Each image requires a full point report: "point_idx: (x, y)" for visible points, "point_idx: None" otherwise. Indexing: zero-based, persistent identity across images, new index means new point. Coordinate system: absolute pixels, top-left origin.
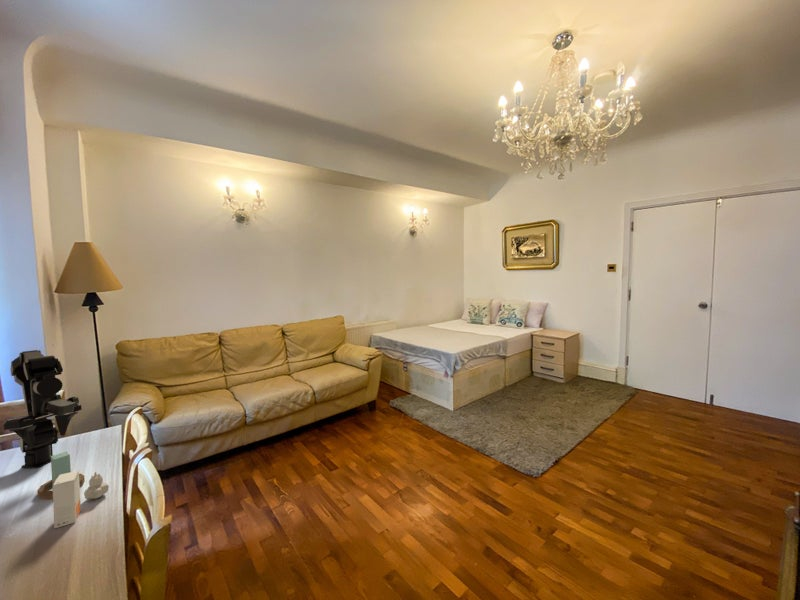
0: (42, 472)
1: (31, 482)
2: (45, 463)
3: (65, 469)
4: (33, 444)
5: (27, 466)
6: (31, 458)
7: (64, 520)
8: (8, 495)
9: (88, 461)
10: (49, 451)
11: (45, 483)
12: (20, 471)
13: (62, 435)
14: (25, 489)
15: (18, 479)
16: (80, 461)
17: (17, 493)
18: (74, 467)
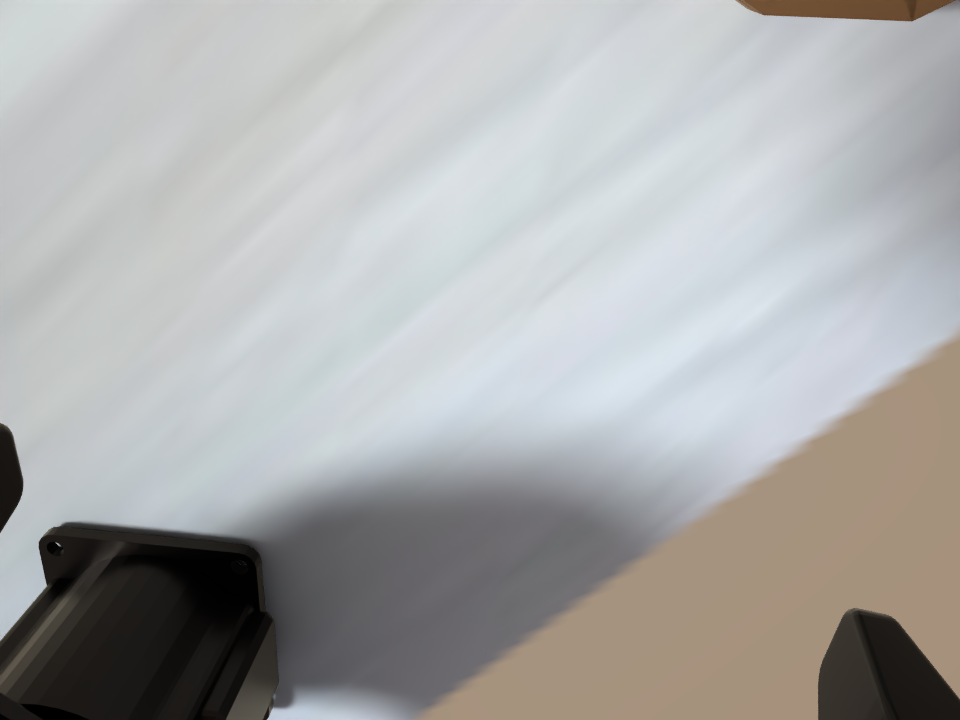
0: (360, 430)
1: (585, 367)
2: (189, 544)
3: None
4: (886, 650)
5: (275, 661)
6: (237, 695)
7: None
8: (856, 386)
9: (68, 38)
10: (58, 631)
11: (848, 6)
12: (335, 664)
13: (13, 454)
14: (750, 300)
15: (498, 559)
16: (83, 167)
17: (833, 319)
18: (237, 111)
